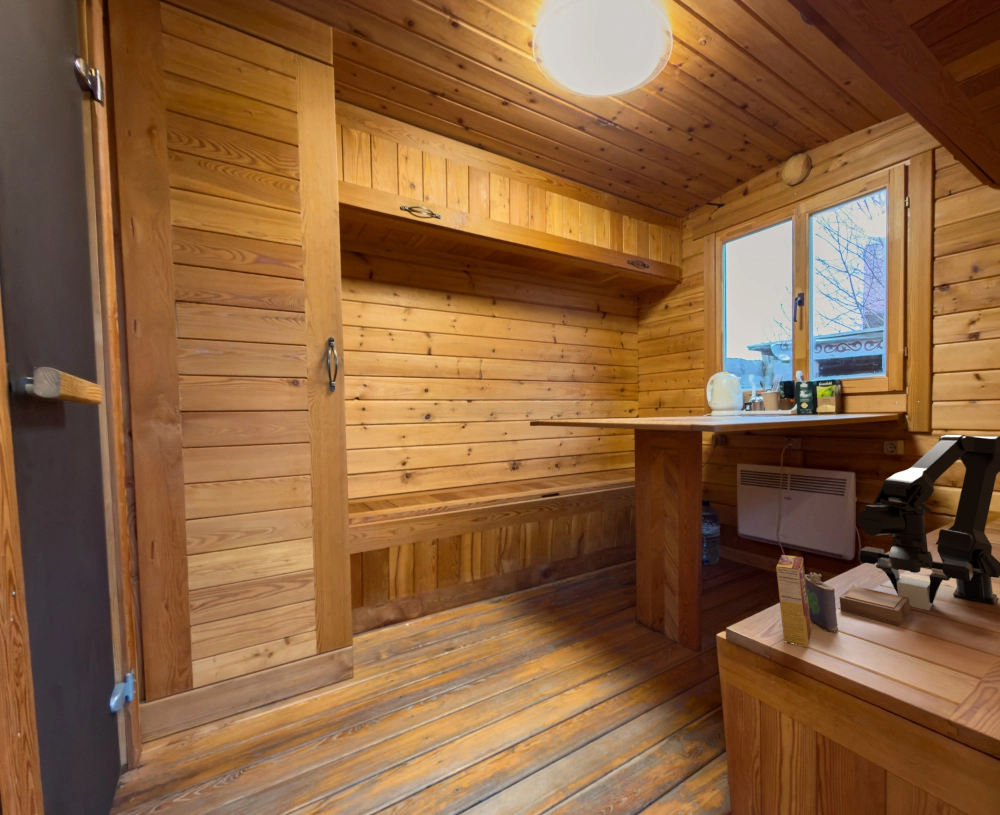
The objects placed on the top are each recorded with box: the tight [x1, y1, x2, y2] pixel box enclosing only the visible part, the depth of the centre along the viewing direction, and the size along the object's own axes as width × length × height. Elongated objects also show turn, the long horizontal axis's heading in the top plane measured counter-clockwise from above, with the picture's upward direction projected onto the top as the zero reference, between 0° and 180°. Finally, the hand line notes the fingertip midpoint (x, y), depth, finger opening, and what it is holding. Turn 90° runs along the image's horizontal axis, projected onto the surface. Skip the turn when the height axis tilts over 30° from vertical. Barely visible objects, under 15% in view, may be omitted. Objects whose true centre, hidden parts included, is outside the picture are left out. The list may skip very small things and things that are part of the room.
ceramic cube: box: [897, 576, 934, 611], centre depth 98 cm, size 5×5×5 cm
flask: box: [805, 572, 839, 634], centre depth 92 cm, size 9×3×11 cm, turn 172°
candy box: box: [775, 554, 812, 648], centre depth 87 cm, size 9×4×15 cm, turn 140°
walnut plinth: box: [839, 585, 911, 626], centre depth 96 cm, size 10×10×3 cm
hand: (915, 599), depth 98 cm, fingers closed on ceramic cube, 5 cm apart
